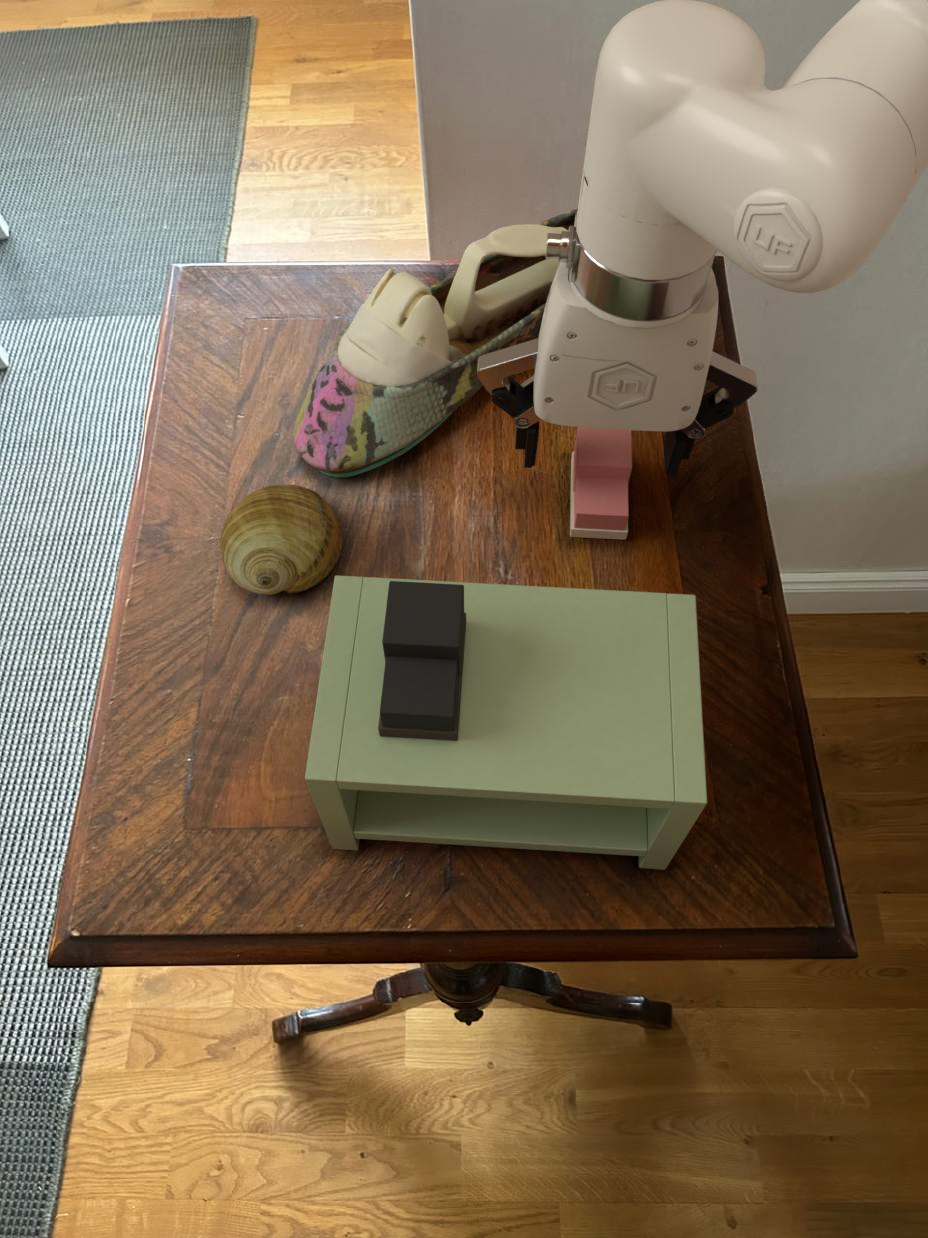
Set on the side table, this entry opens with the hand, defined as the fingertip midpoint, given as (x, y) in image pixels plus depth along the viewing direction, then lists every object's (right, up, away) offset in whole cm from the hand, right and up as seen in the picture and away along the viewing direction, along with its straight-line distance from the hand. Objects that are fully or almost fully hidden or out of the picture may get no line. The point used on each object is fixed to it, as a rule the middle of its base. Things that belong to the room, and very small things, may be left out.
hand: (599, 455), depth 70 cm
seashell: (-22, -7, +2) cm, 23 cm away
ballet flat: (-9, +8, +10) cm, 16 cm away
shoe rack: (-7, -20, -6) cm, 22 cm away
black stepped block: (-11, -14, -16) cm, 25 cm away
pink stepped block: (0, -2, +4) cm, 5 cm away
